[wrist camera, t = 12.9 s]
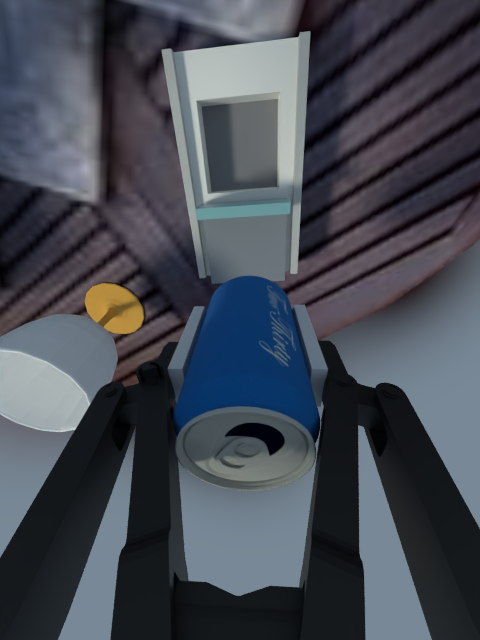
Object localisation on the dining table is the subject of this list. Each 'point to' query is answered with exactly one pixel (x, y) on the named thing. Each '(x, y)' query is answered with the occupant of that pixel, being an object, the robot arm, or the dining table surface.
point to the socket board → (241, 128)
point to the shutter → (245, 238)
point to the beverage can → (247, 393)
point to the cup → (64, 360)
